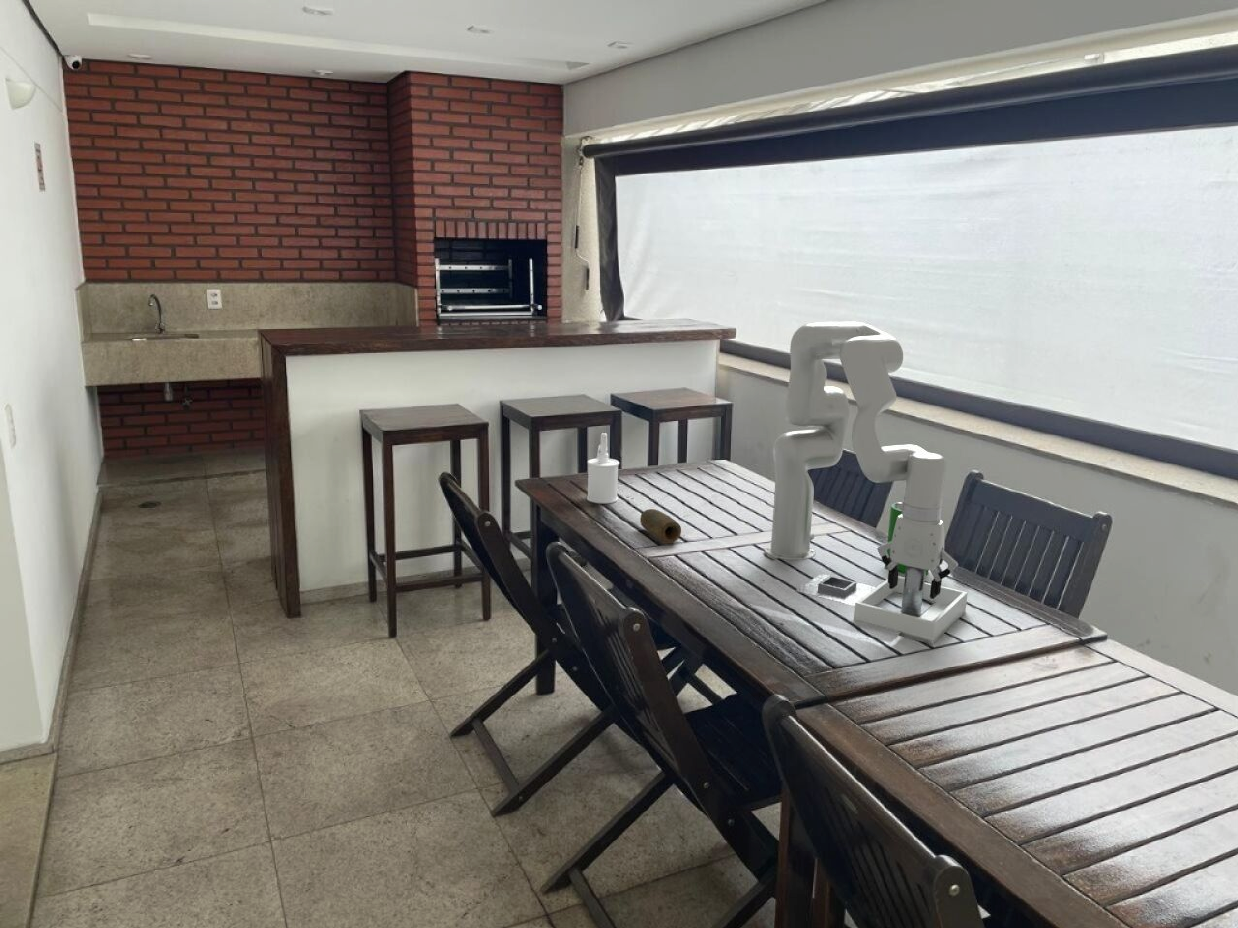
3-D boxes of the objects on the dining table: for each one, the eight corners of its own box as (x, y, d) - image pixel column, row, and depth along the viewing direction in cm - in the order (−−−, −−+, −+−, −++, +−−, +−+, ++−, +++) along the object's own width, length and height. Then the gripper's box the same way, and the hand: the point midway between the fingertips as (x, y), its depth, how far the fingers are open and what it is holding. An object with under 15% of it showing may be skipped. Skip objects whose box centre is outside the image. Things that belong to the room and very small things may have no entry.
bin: (891, 593, 218) (892, 574, 217) (965, 611, 209) (967, 592, 208) (853, 623, 201) (855, 602, 200) (932, 644, 192) (934, 623, 191)
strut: (896, 613, 205) (904, 553, 201) (904, 607, 208) (911, 548, 205) (917, 619, 202) (924, 558, 199) (924, 613, 206) (931, 552, 202)
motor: (930, 568, 236) (939, 489, 231) (925, 580, 228) (934, 498, 223) (887, 561, 240) (895, 483, 235) (881, 572, 232) (889, 492, 227)
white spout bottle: (617, 504, 282) (619, 437, 278) (586, 503, 282) (587, 436, 278) (618, 494, 293) (620, 429, 288) (587, 493, 293) (589, 429, 288)
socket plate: (820, 577, 227) (821, 567, 227) (878, 591, 219) (879, 581, 219) (794, 594, 216) (795, 584, 216) (853, 610, 208) (854, 599, 208)
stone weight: (685, 543, 249) (686, 519, 248) (661, 547, 246) (662, 522, 245) (658, 527, 262) (659, 503, 261) (635, 530, 259) (636, 506, 258)
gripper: (874, 508, 202) (866, 587, 206) (958, 524, 192) (948, 607, 196) (887, 501, 208) (880, 577, 212) (969, 516, 198) (960, 596, 202)
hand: (913, 591), depth 204 cm, fingers open, 8 cm apart
